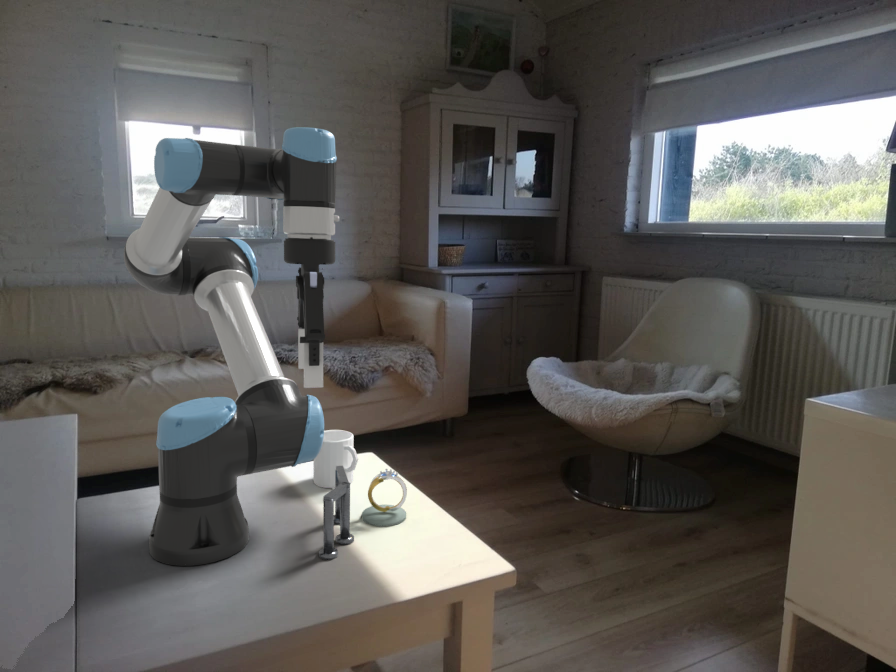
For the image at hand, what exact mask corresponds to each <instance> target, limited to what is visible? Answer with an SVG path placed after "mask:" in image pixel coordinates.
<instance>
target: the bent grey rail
mask: <svg viewBox="0 0 896 672" xmlns="http://www.w3.org/2000/svg"><path fill="white" fill-rule="evenodd" d="M322 503H323V507H322V509H323V510H322V511H323V513H322V514H323V515H322V516H323V517H322V518H323V520H322V521H323V525H322V527H323V534H322V535H323V543H322V544H323V546H322V547H323V548H321V549H320V550H318V558H320V559H321V560H324V559H325V560H326V561H329V560H335V559H336V558H337V557H339V550H338V548H336V547H334V546H335V545H334V544H335V543H337V544H338V545H343V546H345V545H347V546H348V545H350V544H352V543H354V542H355V536H354V534H352V533H351V484H350V483H349V482H348V479H347V476H346V473H345V470H344V467H343V466H336V470H335V488H332V489H331V490H330V491H328V492H327V493H325V494H324V495H323V502H322ZM334 525H339V534H338V535H336V536H335V535H334V533H335V531H334V528H335V527H334ZM334 538H335V540H334ZM334 541H335V543H334ZM327 559H328V560H327Z"/></svg>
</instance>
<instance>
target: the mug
mask: <svg viewBox="0 0 896 672" xmlns="http://www.w3.org/2000/svg"><path fill="white" fill-rule="evenodd" d="M354 438H355V437H354V434H353V433H352V432H350V431H347V430H342V429H329V430H328V429H327V430H324V438H323V444H322V447H321V450H320V452H319V454H318V455H317V457H316V458H315V459H313V484H314V485H316V486H317V487H320V488H324V489H334V488H335V470H336V466H343V467H344V470H345V473H346V476H347V479H348V482H349V483H350V485H351V484H352V483H353V482H354V471H355V470H356V467H357V464H358V462H359V461H358V460H359V457H358V453H357V451H356V449H355V448H354V444H355V443H354V441H355V440H354Z"/></svg>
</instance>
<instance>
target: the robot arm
mask: <svg viewBox="0 0 896 672" xmlns="http://www.w3.org/2000/svg"><path fill="white" fill-rule="evenodd" d="M282 138H283V140H282V144H281V148H270V147H260V146H251V145H241V144H231V143H226V142H225V143H223V142H215V141H208V140H207V141H205V140H199V139H198V140H197V139H193V138H189V137H185V138H180V137H179V138H178V137H177V138H175V137H164V138H162V139H160V140H159V141H158V143H157V144H156V147H155V154H154V160H153V161H154V162H153V164H154V166H153V168H154V171H153V172H154V176H155V177H154V178H155V181H156V183H157V186H158V189H157V192H156V195H155V196H154V198H153V200H152V203H151V205H150V206H149V208H148V211H147V213H146V214H145V217H144V219H143V221H142V223H141V225H140V227H139V228H137V229H136V230H134V231H132V233H131V234H130V235H129V237H128V238H127V240H126V242H125V245H124V248H123V261H124V262H123V263H124V264H125V268H126V269H127V271H128V272H129V275H130V276H131V277H132V278H133V279H134V280H135V281H136V282H137V283H138V284H139V285H140V286H141V287H144V288H145V289H147V290H149V291H150V292H153V293H157V294H159V295H164V296H193V298H194V300H195V303H196V305H198V308H201V309H202V310H204V311H205V312H207V313H208V315H209V318H210V321H211V323H212V327H213V329H214V332H215V335H216V338H217V340H218V343H219V346H220V348H221V351H222V354H223V357H224V359H225V362H226V364H227V367H228V369H229V374H230V376H231V378H232V381H233V384H234V387H235V389H236V392H237V395H238V396H237V397H236V399H235V400H233V398H230V397H227V396H214V397H210V396H208V397H207V396H206V397H199V398H194V399H190V400H186V401H183V402H179V403H177V404H175V405H173V406H171V407H169V408H167V410H165V411H163V412H162V414H161V415H160V416H159V418H158V420H157V432H156V436H157V437H156V441H155V443H156V447H157V460H158V461H157V462H158V483H159V485H158V488H159V504H158V508H157V511H156V514H155V517H154V521H153V523H152V524H153V526H152V529H151V531H150V534H149V538H148V541H149V543H148V545H149V548H148V549H149V554H150V556H151V557H152V558H153V559H154V560H155V561H157V562H160V563H163V564H166V565H171V566H180V567H181V566H182V567H183V566H184V567H185V566H186V567H188V566H189V567H191V566H201V565H206V564H212V563H216V562H220V561H221V560H225V559H227V558H229V557H232V556H233V555H236V554H237V553H239V552H241V551H242V550H243V549H244V548H245V547H246V546H247V545H248V543H249V540H250V530H249V529H250V528H249V527H250V525H249V522H248V520H247V518H246V517H245V513H244V512H243V511H244V510H243V508H242V505H241V502H240V499H239V496H238V483H237V482H238V478H239V477H241V476H246V475H253V474H258V473H263V472H268V471H272V470H278V469H283V468H288V467H291V468H294V467H296V466H298V465H301V464H305V463H308V462H312V461H314V459H315V458H316V457H317V455H318V454H319V452H320V450H321V447H322V444H323V438H324V431H325V418H324V412H323V408H322V407H323V406H322V404H321V403H320V401H319V399H318V398H317V397H316V396H314V395H310V394H305V395H302V393H301V391H300V388H299V387H298V384H297V383H296V382H295V381H294V380H293V379H290V378H287V377H285V374H284V372H283V370H282V368H281V366H280V363H279V361H278V358H277V355H276V353H275V350H274V349H273V346H272V344H271V342H270V339H269V337H268V334H267V332H266V330H265V329H266V328H265V327H264V324H263V322H262V320H261V318H260V315H259V313H258V310H257V309H256V305H255V304H254V300H253V298H252V295H253V293H254V291H255V289H256V286H257V284H258V279H259V270H258V269H259V268H258V267H257V258H256V256H255V253H254V251H253V250H252V248H251V246H250V245H249V244H248V243H247V242H246V241H245V240H242V239H239V238H230V237H229V236H228V237H227V236H220V237H199V236H198V237H197V236H196V237H195V236H194V237H193V236H191V235H192V233H193V231H194V230H195V228H196V227H197V226H198V225H197V224H198V223H199V221H200V220H201V219H202V217H203V215H204V214H205V212H206V210H207V209H208V207H209V205H210V204H211V202H212V201H213V200H214V198H215V196H216V195H220V196H222V195H223V196H235V197H236V196H239V197H240V196H241V197H255V198H266V199H267V200H277V201H281V200H282V201H283V207H282V208H283V209H282V214H283V215H282V219H283V220H282V224H283V225H282V227H283V229H282V231H283V233H284V234H285V235H287V237H286V238H285V239H284V240H283V261H284V262H285V263H286V264H290V265H291V264H292V265H300V267H299V268H298V269H297V272H298V275H295V286H296V299H297V300H298V303H297V304H298V306H297V307H298V308H297V309H298V311H297V318H296V320H297V322H298V323H297V325H298V326H297V327H298V329H297V330H298V331H297V337H298V339H297V340H298V341H297V344H298V345H297V347H298V348H297V349H298V350H297V351H298V353H297V355H298V356H297V357H298V358H297V359H298V365H297V367H298V370H303V388H304V389H312V388H315V389H316V388H324V340H325V339H326V334H325V320H324V319H325V318H324V297H325V296H324V289H325V277H324V274H323V272H322V271H320V265H326V266H327V265H329V266H330V265H333V264H335V262H336V241H335V240H334V239H332V236H335V234H336V223H337V222H338V223H339V222H340V216H339V215H337V214H336V198H337V196H336V192H337V191H336V189H337V187H336V184H337V160H338V157H337V154H336V153H337V152H336V139H335V135H334V134H333V133H332V132H330V131H329V130H326V129H323V128H316V127H307V126H306V127H304V126H303V127H296V126H295V127H290V128H287V129H286V130H285V131H284V132H283V137H282Z"/></svg>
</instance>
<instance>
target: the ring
mask: <svg viewBox="0 0 896 672" xmlns="http://www.w3.org/2000/svg"><path fill="white" fill-rule="evenodd" d="M398 474H399V472H398V471H395V470H393V471H392V469H389V470H388V468H385V470H384V471H382V470H380V471H379V473H378V474H376V475H375V476H374V477H373V479H372V480H371V481H370V484H369V487H368V490H367V499H368V501H369V503H370V505H371V506H373V507H374V508H375V509H377V510H379V511H382V512H385V513H386V514H388V513H389V512H393V511H396V510H397V509H399V508H400V507H401V508H402V506H403V505H404V503H405V501H406V498H407V493H408V489H407V488H408V487H407V485H406V483H405V481H404V479H402V478H401V476H398ZM386 480H387V481H388V480H393V481H396V482H397V483H398V484H399V485H400V486H401V489H402V496H401V499H400V501H399V502H398V503H397V504H396V505H394V506H393V507H389V506H386V507H382V506H379V505H380V504H378V503H377V502H376V501H375V500H374V497H373V490H374V489H375V487H377V485H379V484H381V483H383V482H384V481H386Z"/></svg>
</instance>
